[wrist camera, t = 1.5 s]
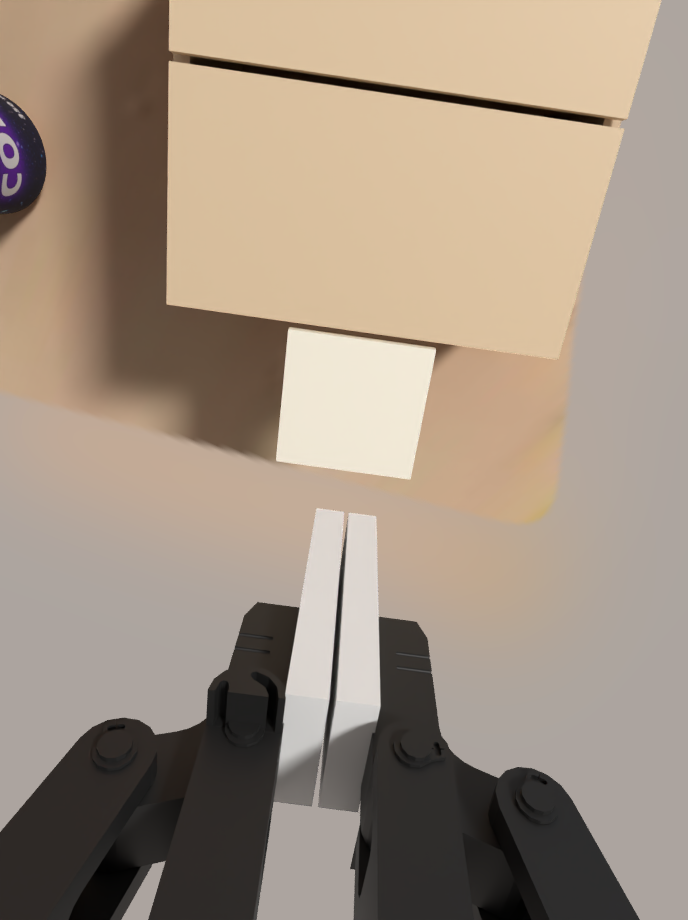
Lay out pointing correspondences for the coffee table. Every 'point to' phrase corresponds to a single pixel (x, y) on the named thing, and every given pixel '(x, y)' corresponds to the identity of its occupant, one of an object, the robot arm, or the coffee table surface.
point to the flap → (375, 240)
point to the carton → (396, 90)
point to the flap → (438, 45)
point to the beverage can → (19, 158)
